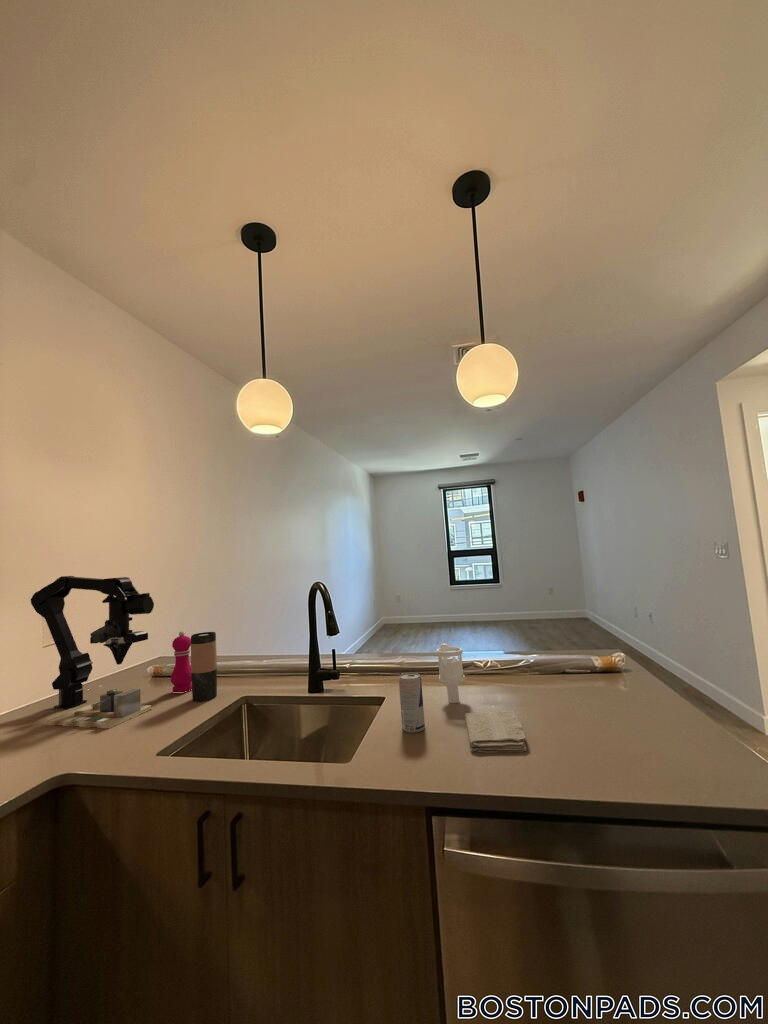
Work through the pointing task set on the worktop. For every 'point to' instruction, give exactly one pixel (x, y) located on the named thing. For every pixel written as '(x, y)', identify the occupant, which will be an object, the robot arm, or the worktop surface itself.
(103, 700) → the gauge slider
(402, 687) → the energy drink
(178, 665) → the pepper mill
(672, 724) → the worktop surface
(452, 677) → the white stepped column
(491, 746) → the washcloth
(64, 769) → the worktop surface
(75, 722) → the gauge board
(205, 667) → the travel mug
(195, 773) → the worktop surface
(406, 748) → the worktop surface
